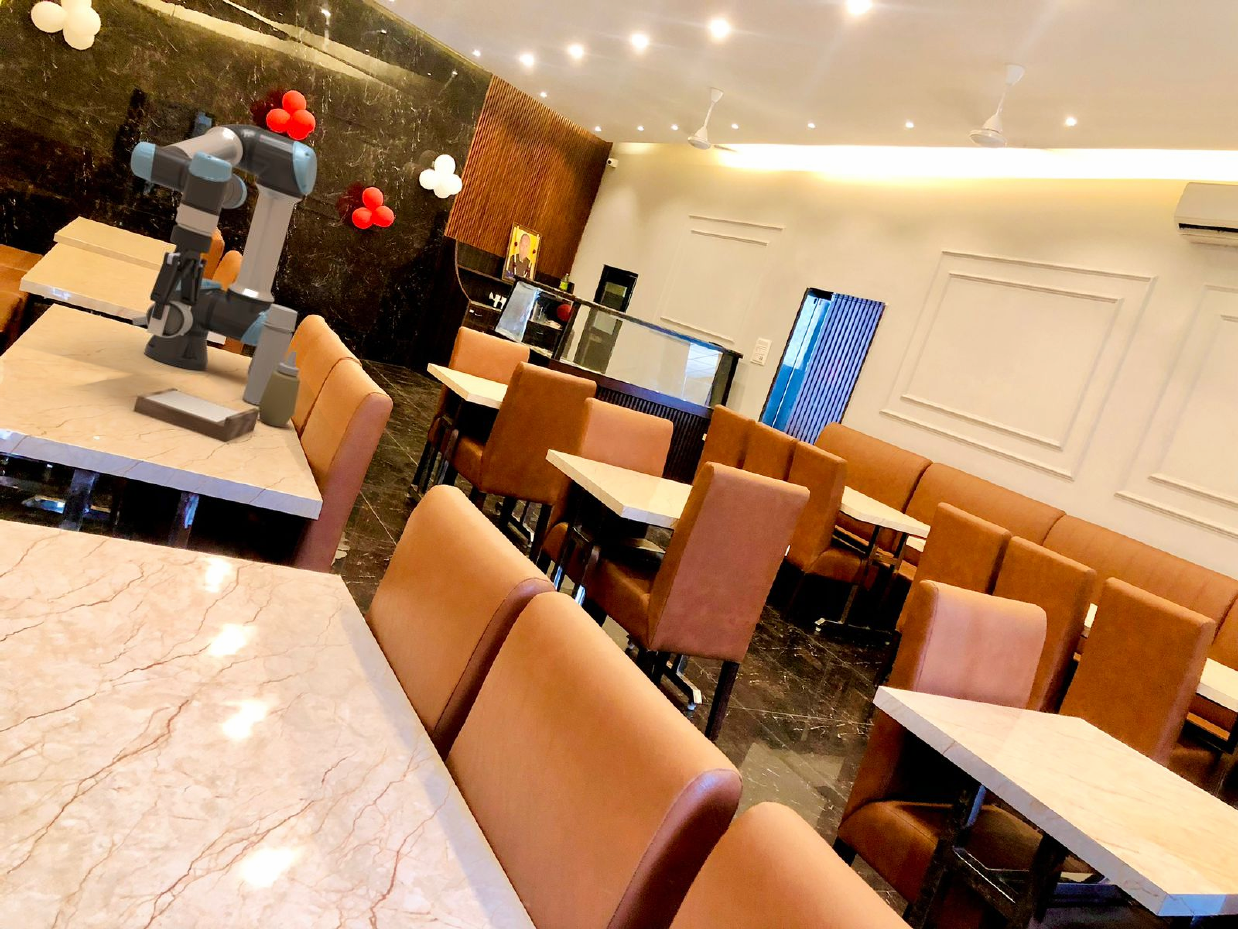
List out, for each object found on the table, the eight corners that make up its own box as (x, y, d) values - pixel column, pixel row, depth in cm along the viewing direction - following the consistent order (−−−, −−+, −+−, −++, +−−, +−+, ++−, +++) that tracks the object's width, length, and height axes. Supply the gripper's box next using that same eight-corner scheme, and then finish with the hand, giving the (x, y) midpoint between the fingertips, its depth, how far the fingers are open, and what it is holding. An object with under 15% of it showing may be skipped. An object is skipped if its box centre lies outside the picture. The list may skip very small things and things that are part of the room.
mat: (175, 391, 194) (175, 390, 193) (242, 414, 195) (242, 413, 195) (144, 398, 180) (144, 397, 180) (216, 422, 181) (216, 422, 181)
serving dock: (169, 401, 195) (175, 380, 194) (253, 430, 197) (259, 409, 196) (133, 411, 179) (139, 388, 178) (225, 442, 181) (231, 419, 180)
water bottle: (278, 408, 224) (306, 315, 220) (254, 407, 217) (282, 310, 213) (253, 396, 228) (280, 304, 224) (229, 394, 220) (256, 298, 216)
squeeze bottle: (260, 415, 212) (281, 344, 209) (293, 426, 213) (315, 356, 210) (249, 419, 204) (271, 346, 201) (283, 431, 205) (305, 358, 202)
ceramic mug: (190, 338, 190) (198, 304, 189) (180, 342, 182) (189, 307, 181) (137, 323, 187) (146, 288, 186) (125, 326, 179) (134, 290, 178)
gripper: (200, 228, 192) (172, 326, 195) (149, 217, 171) (120, 328, 174) (233, 240, 192) (205, 338, 196) (187, 231, 171) (157, 341, 175)
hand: (165, 333), depth 185 cm, fingers closed on ceramic mug, 9 cm apart
